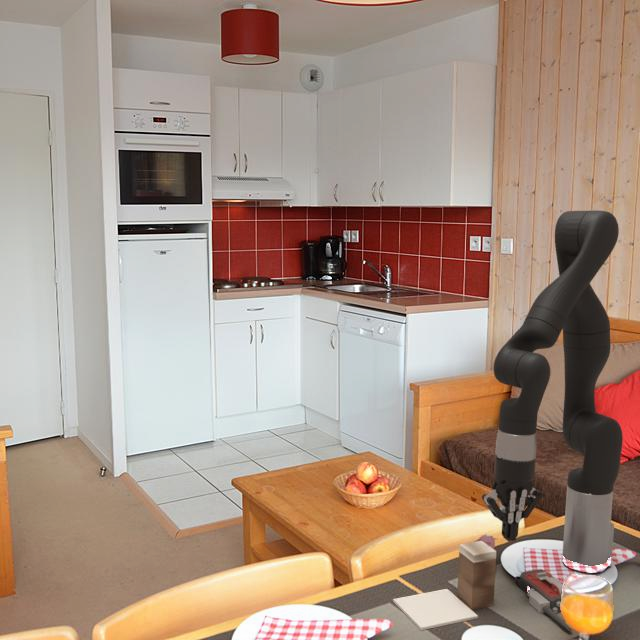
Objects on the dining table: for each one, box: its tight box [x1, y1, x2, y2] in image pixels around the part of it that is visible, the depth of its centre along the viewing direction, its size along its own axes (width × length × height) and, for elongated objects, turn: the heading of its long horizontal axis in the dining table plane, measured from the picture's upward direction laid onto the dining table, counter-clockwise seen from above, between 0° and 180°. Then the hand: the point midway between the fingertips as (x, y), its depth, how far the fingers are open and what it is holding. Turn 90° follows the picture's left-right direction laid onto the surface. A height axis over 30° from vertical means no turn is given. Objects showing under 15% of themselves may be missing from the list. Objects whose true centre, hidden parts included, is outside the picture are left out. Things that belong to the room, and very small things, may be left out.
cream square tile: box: [392, 588, 479, 631], centre depth 150 cm, size 12×11×1 cm
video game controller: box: [473, 533, 496, 550], centre depth 169 cm, size 10×5×7 cm, turn 169°
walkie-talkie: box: [514, 568, 573, 632], centre depth 152 cm, size 9×4×20 cm
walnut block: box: [456, 541, 497, 611], centre depth 152 cm, size 5×5×11 cm
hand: (509, 539), depth 154 cm, fingers closed
